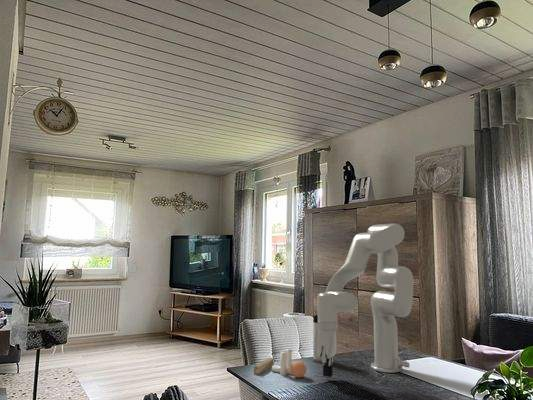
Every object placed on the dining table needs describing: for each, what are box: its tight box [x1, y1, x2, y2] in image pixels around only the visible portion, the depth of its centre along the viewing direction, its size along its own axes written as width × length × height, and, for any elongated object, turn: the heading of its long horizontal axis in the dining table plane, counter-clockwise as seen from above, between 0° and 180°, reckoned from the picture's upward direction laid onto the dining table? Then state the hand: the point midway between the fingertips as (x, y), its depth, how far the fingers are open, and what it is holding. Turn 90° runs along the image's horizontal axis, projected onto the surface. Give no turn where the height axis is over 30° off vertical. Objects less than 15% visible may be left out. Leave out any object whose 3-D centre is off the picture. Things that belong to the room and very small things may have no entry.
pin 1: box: [279, 351, 287, 377], centre depth 155 cm, size 2×2×8 cm
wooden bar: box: [253, 357, 275, 376], centre depth 161 cm, size 2×14×3 cm, turn 153°
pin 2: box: [285, 348, 293, 368], centre depth 160 cm, size 2×2×8 cm
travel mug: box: [312, 314, 323, 364], centre depth 177 cm, size 6×7×20 cm
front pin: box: [271, 364, 293, 376], centre depth 158 cm, size 2×2×8 cm
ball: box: [291, 360, 307, 379], centre depth 152 cm, size 6×6×6 cm
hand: (327, 375), depth 149 cm, fingers closed
